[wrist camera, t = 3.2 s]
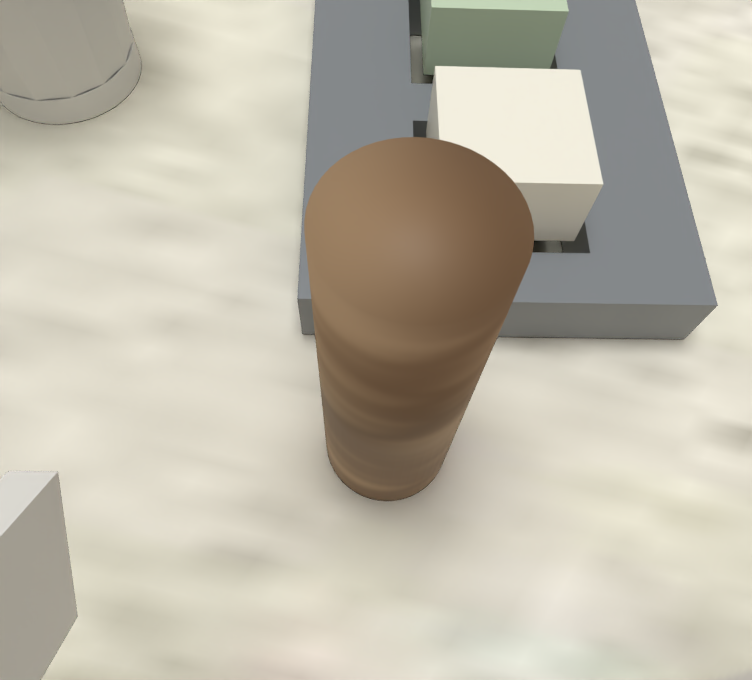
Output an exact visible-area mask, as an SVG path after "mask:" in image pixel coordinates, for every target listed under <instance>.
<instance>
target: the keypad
mask: <svg viewBox="0 0 752 680" xmlns="http://www.w3.org/2000/svg"><path fill="white" fill-rule="evenodd" d="M567 5H568V10H569V12H568V15H567V18H566V21H565V24H564V27H563V31H562V34H561V37H560V40H559V43H558V46H557V49H556V52H555V55H554V58H553V61H552V64H551V67H550V69H570V70H581V75H582V80H583V85H584V90H585V95H586V100H587V105H588V110H589V115H590V120H591V125H592V130H593V135H594V140H595V145H596V150H597V155H598V160H599V165H600V170H601V175H602V180H603V186H602V188H601V190H600V192H599V194H598V196H597V198H596V200H595V202H594V204H593V205H592V207H591V209H590V211H589V213H588V215H587V217H586V219H585V221H584V223H583V225H582V227H581V229H580V231H579V233H578V235H577V237H576V238H575V240H574V241H561V242H562V248H563V253H542V252H532V256H531V259H530V263H529V265H528V267H527V270H526V272H525V274H524V277H523V279H522V281H521V284H520V286H519V288H518V291H517V293H516V295H515V297H514V300H513V302H512V304H511V307H510V309H509V311H508V314H507V316H506V318H505V320H504V323H503V325H502V327H501V330H500V332H499V334H498V337H561V338H632V339H685V338H686V337H687V336H688V335H689V334H690V333H691V332H692V331H693V330H694V329H695V328H696V327H697V326H698V325H699V324H700V323H701V322H702V321H703V320H704V319H705V318H706V317H707V316H708V315H709V314H710V313H711V312H712V311H713V310H714V309H715V308H716V307H717V306H718V305H717V301H716V297H715V294H714V290H713V286H712V283H711V279H710V275H709V271H708V268H707V264H706V260H705V257H704V253H703V249H702V246H701V242H700V238H699V235H698V231H697V227H696V223H695V220H694V216H693V212H692V209H691V205H690V201H689V198H688V194H687V190H686V187H685V183H684V179H683V175H682V172H681V168H680V164H679V161H678V157H677V153H676V150H675V146H674V142H673V139H672V135H671V131H670V127H669V124H668V120H667V116H666V113H665V109H664V105H663V102H662V98H661V94H660V91H659V87H658V83H657V79H656V76H655V72H654V68H653V65H652V61H651V57H650V54H649V50H648V46H647V43H646V39H645V35H644V31H643V28H642V24H641V20H640V17H639V13H638V9H637V6H636V2H635V0H567ZM410 35H422V33H421V12H420V0H315V16H314V32H313V49H312V65H311V82H310V99H309V115H308V132H307V149H306V165H305V182H304V198H303V215H302V232H301V248H300V265H299V282H298V298H297V299H298V306H299V313H300V320H301V327H302V334H315V329H314V320H313V310H312V301H311V291H310V282H309V272H308V262H307V253H306V243H305V234H304V219H305V212H306V207H307V204H308V201H309V198H310V196H311V194H312V192H313V189H314V187H315V186H316V184H317V183H318V181H319V180H320V178H321V177H322V176H323V175H324V174H325V173H326V171H327V170H328V169H329V168H330V167H331V166H333V165H334V164H335V163H336V162H337V161H339V160H340V159H341V158H343V157H344V156H346V155H348V154H349V153H351V152H353V151H355V150H357V149H359V148H361V147H363V146H366V145H369V144H372V143H375V142H378V141H383V140H387V139H393V138H401V137H423V138H427V137H426V128H427V121H428V114H429V107H430V99H431V92H432V85H433V84H423V83H411V59H410Z"/></svg>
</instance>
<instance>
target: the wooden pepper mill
mask: <svg viewBox="0 0 752 680" xmlns="http://www.w3.org/2000/svg"><path fill="white" fill-rule="evenodd" d="M304 234H305V243H306V253H307V262H308V272H309V282H310V291H311V301H312V310H313V320H314V329H315V339H316V349H317V358H318V368H319V377H320V387H321V397H322V406H323V416H324V425H325V435H326V444H327V452H328V457H329V460H330V463H331V465H332V467H333V469H334V471H335V473H336V474H337V476H338V477H339V478H340V479H341V480H342V482H343V483H344V484H345V485H347V486H348V487H349V488H350V489H352V490H353V491H355V492H356V493H358V494H360V495H362V496H365V497H367V498H370V499H375V500H382V501H393V500H400V499H404V498H407V497H410V496H412V495H414V494H416V493H418V492H420V491H421V490H422V489H424V488H425V487H426V486H427V485H428V484H430V483H431V481H432V480H433V479H434V478H435V476H436V475H437V473H438V472H439V470H440V468H441V466H442V463H443V461H444V459H445V456H446V454H447V452H448V449H449V447H450V445H451V443H452V440H453V438H454V436H455V433H456V431H457V429H458V426H459V424H460V422H461V420H462V417H463V415H464V413H465V410H466V408H467V406H468V403H469V401H470V399H471V396H472V394H473V392H474V390H475V387H476V385H477V383H478V380H479V378H480V376H481V373H482V371H483V369H484V367H485V364H486V362H487V360H488V357H489V355H490V353H491V350H492V348H493V346H494V344H495V341H496V339H497V337H498V334H499V332H500V330H501V327H502V325H503V323H504V320H505V318H506V316H507V314H508V311H509V309H510V307H511V304H512V302H513V300H514V297H515V295H516V293H517V291H518V288H519V286H520V284H521V281H522V279H523V277H524V274H525V272H526V270H527V267H528V265H529V263H530V259H531V256H532V252H533V246H534V225H533V221H532V216H531V212H530V210H529V207H528V204H527V202H526V200H525V198H524V196H523V195H522V193H521V191H520V190H519V188H518V187H517V186H516V184H515V183H514V181H513V180H512V179H511V178H510V177H509V176H508V175H507V174H506V173H505V172H504V171H503V170H502V169H501V168H499V167H498V166H497V165H496V164H495V163H493V162H492V161H490V160H489V159H487V158H486V157H484V156H483V155H481V154H479V153H477V152H475V151H473V150H471V149H469V148H466V147H463V146H461V145H458V144H455V143H452V142H448V141H444V140H439V139H433V138H423V137H401V138H393V139H387V140H383V141H378V142H375V143H372V144H369V145H366V146H363V147H361V148H359V149H357V150H355V151H353V152H351V153H349V154H348V155H346V156H344V157H343V158H341V159H340V160H339V161H337V162H336V163H335V164H334V165H333V166H331V167H330V168H329V169H328V170H327V171H326V173H325V174H324V175H323V176H322V177H321V178H320V180H319V181H318V183H317V184H316V186H315V187H314V189H313V192H312V194H311V196H310V198H309V201H308V204H307V207H306V212H305V219H304Z"/></svg>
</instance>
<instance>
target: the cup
mask: <svg viewBox="0 0 752 680" xmlns="http://www.w3.org/2000/svg"><path fill="white" fill-rule="evenodd" d="M140 73H141V58H140V54H139V51H138V49H137V46H136V43H135V40H134V37H133V34H132V31H131V28H130V26H129V22H128V18H127V14H126V11H125V7H124V3H123V0H0V101H1V103H2V104H3V105H4V106H5V107H6V108H7V109H8V110H9V111H11V112H12V113H14V114H15V115H17V116H19V117H21V118H24V119H26V120H30V121H33V122H38V123H44V124H68V123H75V122H80V121H84V120H87V119H91V118H93V117H96V116H99V115H101V114H103V113H105V112H107V111H109V110H110V109H112V108H114V107H115V106H117V105H118V104H119V103H121V102H122V101H123V100H124V99H125V98H126V97H127V96H128V95H129V94H130V93H131V92H132V90H133V89H134V87H135V86H136V84H137V82H138V80H139V77H140Z"/></svg>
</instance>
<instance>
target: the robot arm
mask: <svg viewBox="0 0 752 680" xmlns="http://www.w3.org/2000/svg"><path fill="white" fill-rule="evenodd" d="M77 617H78V615H77V608H76V601H75V593H74V586H73V578H72V571H71V564H70V556H69V549H68V542H67V534H66V527H65V520H64V512H63V505H62V498H61V490H60V483H59V476H58V472H55V471H8V472H7V473H6V474H5V475H4V476H3V477H2V478H1V479H0V680H41V679H42V677H43V675H44V674H45V672H46V670H47V668H48V667H49V665H50V663H51V662H52V660H53V658H54V656H55V655H56V653H57V651H58V650H59V648H60V646H61V644H62V643H63V641H64V639H65V637H66V636H67V634H68V632H69V631H70V629H71V627H72V625H73V624H74V622H75V620H76V619H77Z"/></svg>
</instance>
